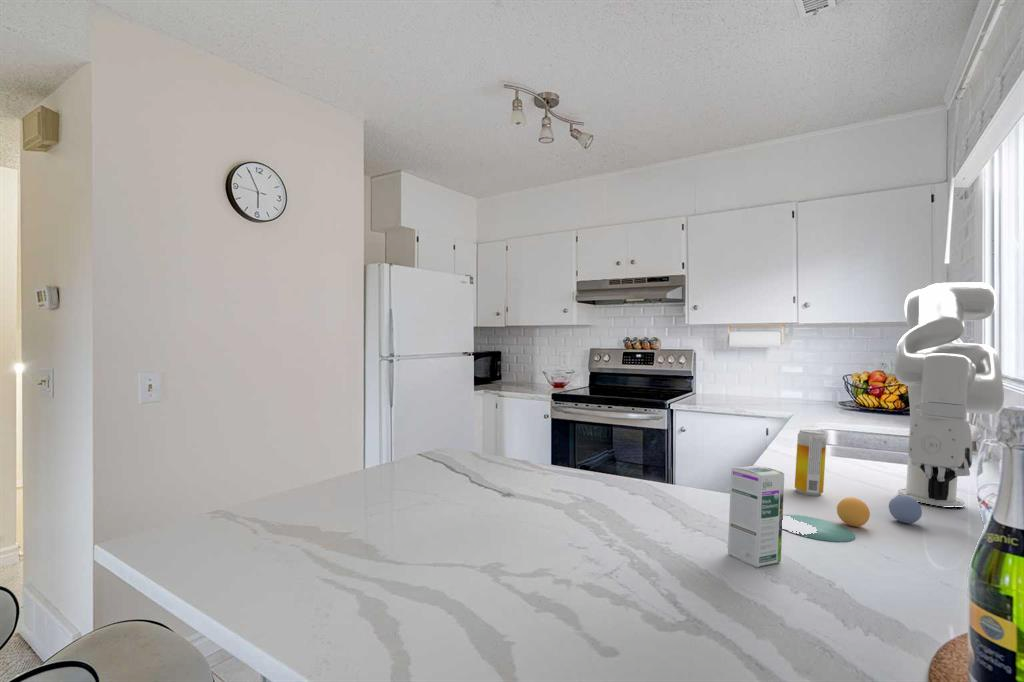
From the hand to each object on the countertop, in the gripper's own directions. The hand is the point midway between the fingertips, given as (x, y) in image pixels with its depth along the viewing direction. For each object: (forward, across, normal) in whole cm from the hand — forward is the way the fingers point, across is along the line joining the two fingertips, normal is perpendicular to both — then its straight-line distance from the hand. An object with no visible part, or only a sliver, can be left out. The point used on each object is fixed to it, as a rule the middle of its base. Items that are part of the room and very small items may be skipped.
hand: (937, 499), depth 110 cm
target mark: (+6, -1, -32) cm, 33 cm away
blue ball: (+2, -1, -8) cm, 8 cm away
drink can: (+5, -22, -11) cm, 25 cm away
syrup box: (+7, +10, -55) cm, 57 cm away
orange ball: (+3, -1, -22) cm, 22 cm away
